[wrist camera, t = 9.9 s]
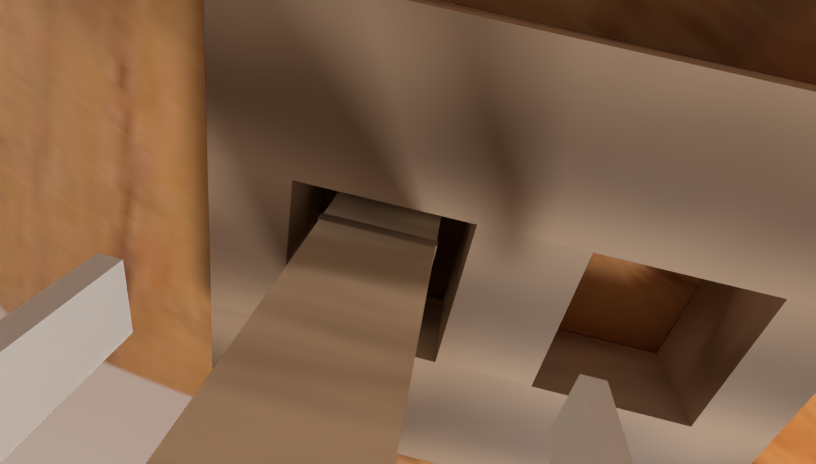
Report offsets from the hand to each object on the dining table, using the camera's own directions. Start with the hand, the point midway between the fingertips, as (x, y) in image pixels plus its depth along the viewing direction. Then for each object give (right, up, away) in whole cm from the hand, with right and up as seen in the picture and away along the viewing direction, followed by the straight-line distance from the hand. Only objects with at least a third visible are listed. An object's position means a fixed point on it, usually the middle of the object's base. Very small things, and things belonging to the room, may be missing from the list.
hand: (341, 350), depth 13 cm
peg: (+1, +4, +7) cm, 8 cm away
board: (+6, +2, +7) cm, 9 cm away
